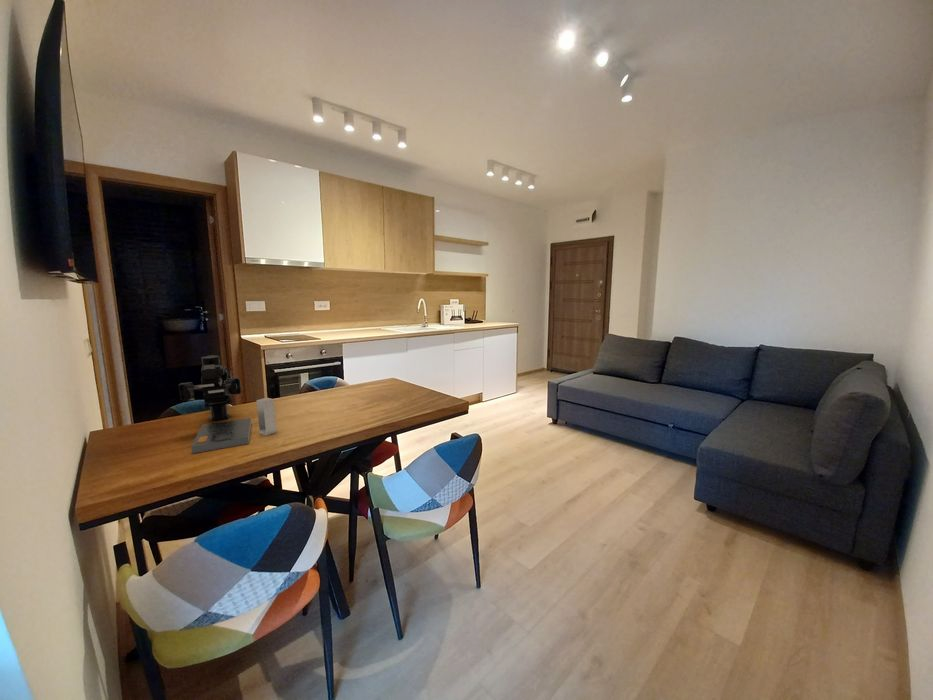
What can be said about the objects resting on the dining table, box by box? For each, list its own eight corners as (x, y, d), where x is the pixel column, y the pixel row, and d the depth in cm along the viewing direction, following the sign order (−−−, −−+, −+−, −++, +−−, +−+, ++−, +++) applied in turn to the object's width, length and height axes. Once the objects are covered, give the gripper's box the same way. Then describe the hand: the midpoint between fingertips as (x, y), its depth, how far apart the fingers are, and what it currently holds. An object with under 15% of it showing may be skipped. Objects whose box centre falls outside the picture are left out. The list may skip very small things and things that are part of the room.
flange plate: (202, 431, 137) (202, 424, 136) (251, 423, 144) (250, 417, 144) (192, 453, 118) (190, 445, 117) (248, 443, 125) (247, 436, 125)
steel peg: (259, 433, 134) (256, 400, 132) (269, 430, 138) (266, 397, 136) (266, 435, 132) (263, 401, 130) (276, 432, 136) (273, 399, 134)
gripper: (179, 366, 133) (172, 376, 120) (238, 361, 143) (237, 370, 130) (183, 394, 136) (176, 407, 123) (241, 387, 145) (240, 399, 132)
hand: (208, 395), depth 127 cm, fingers open, 9 cm apart
